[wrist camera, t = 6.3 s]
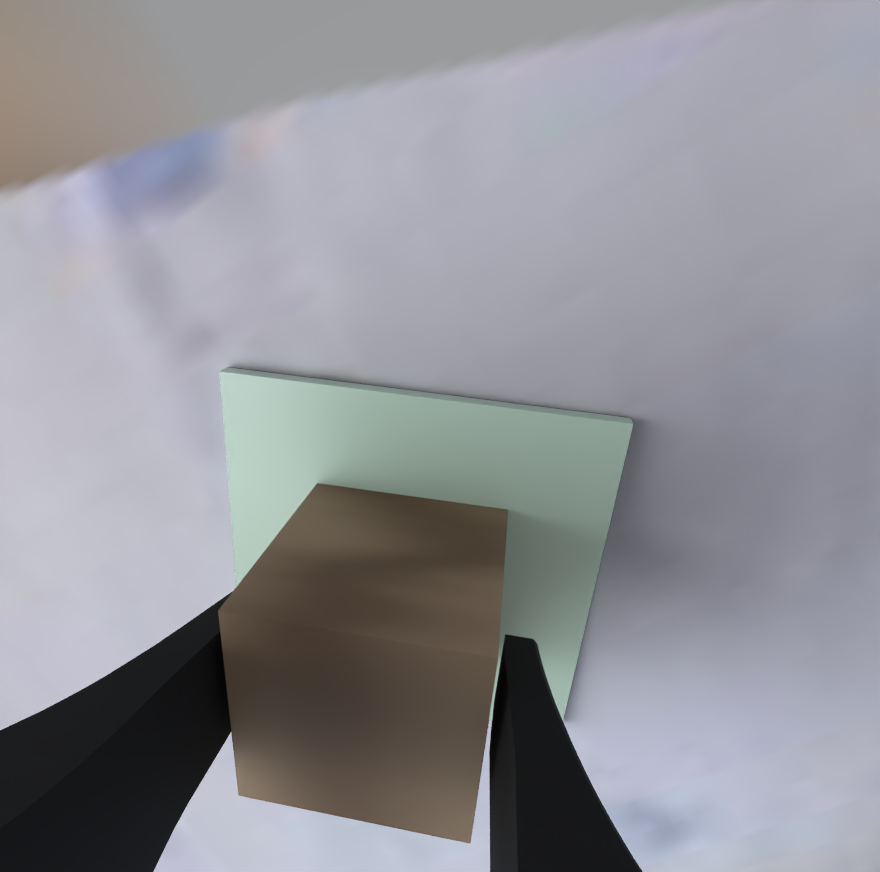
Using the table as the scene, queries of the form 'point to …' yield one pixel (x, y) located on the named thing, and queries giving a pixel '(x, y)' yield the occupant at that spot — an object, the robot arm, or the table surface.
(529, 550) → the green pad
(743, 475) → the table surface
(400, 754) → the walnut cube
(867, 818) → the table surface
